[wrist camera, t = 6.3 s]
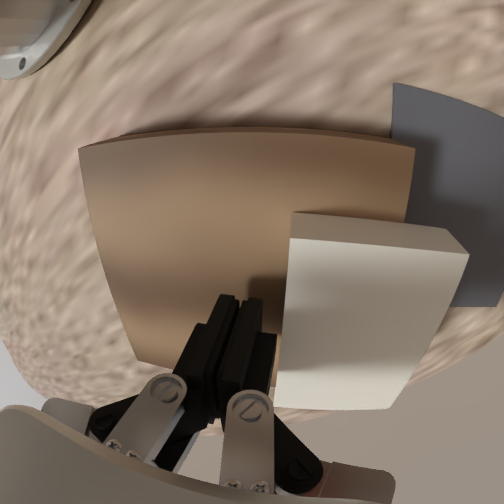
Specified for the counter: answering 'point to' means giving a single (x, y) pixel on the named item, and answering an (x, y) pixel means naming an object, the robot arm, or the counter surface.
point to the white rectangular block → (361, 308)
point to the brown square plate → (223, 217)
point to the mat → (457, 182)
